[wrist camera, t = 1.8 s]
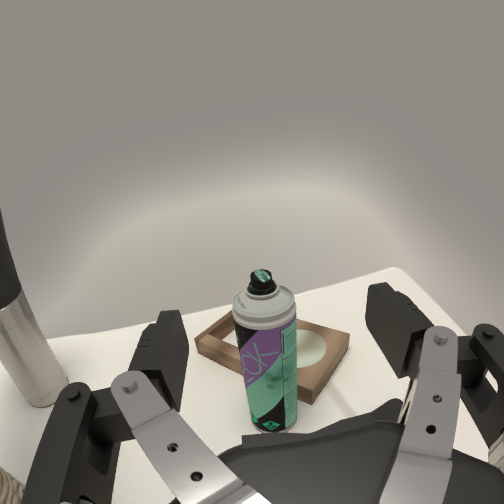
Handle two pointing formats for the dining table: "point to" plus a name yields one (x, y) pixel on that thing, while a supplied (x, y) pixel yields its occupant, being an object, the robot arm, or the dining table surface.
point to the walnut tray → (308, 353)
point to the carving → (10, 489)
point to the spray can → (268, 351)
